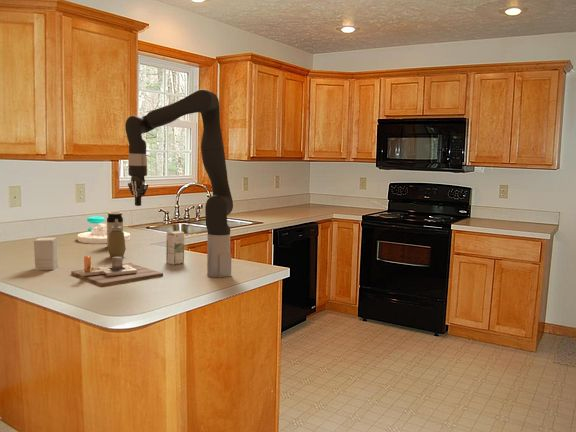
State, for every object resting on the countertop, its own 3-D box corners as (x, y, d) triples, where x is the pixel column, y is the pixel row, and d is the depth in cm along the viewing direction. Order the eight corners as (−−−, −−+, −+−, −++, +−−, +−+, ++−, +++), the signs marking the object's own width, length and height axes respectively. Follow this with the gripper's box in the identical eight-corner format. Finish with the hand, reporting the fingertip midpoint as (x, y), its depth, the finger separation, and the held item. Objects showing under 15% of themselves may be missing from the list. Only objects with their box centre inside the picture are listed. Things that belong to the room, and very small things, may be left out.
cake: (78, 245, 275) (78, 227, 274) (76, 237, 301) (76, 221, 300) (133, 243, 287) (132, 226, 286) (126, 235, 312) (126, 219, 311)
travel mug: (125, 245, 276) (125, 212, 274) (119, 248, 268) (119, 213, 266) (111, 244, 277) (110, 211, 275) (104, 247, 269) (104, 213, 267)
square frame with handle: (126, 267, 217) (126, 250, 217) (137, 272, 208) (137, 255, 207) (79, 272, 206) (79, 254, 205) (88, 278, 197) (87, 259, 196)
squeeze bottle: (129, 257, 246) (128, 219, 244) (113, 259, 240) (112, 220, 238) (120, 254, 251) (119, 217, 249) (104, 256, 245) (104, 219, 243)
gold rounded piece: (94, 273, 205) (94, 266, 205) (88, 274, 204) (88, 267, 203) (91, 272, 207) (91, 265, 207) (86, 273, 205) (86, 266, 205)
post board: (163, 276, 210) (163, 258, 209) (102, 286, 191) (101, 267, 190) (130, 265, 227) (129, 249, 227) (71, 274, 209) (70, 256, 208)
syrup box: (176, 261, 239) (176, 230, 237) (184, 263, 235) (184, 231, 234) (166, 263, 235) (166, 231, 233) (174, 265, 231) (174, 232, 229)
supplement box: (58, 266, 222) (57, 237, 221) (53, 270, 215) (52, 240, 214) (39, 266, 221) (38, 237, 220) (34, 270, 214) (33, 240, 213)
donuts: (102, 218, 309) (85, 218, 308) (102, 234, 310) (85, 234, 309) (106, 216, 319) (89, 216, 318) (106, 232, 320) (89, 232, 319)
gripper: (154, 165, 216) (154, 206, 218) (137, 164, 225) (137, 204, 227) (137, 165, 210) (138, 207, 212) (121, 164, 219) (122, 204, 221)
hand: (138, 205), depth 220 cm, fingers closed
